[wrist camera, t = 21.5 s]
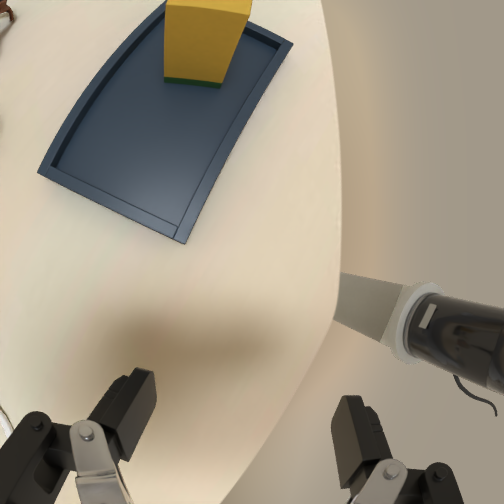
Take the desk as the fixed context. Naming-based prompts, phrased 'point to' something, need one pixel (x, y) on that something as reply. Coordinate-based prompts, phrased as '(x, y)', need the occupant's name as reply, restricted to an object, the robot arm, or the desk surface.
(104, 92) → the tray
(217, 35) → the sponge
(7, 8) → the brown curved piece
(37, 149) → the desk surface
